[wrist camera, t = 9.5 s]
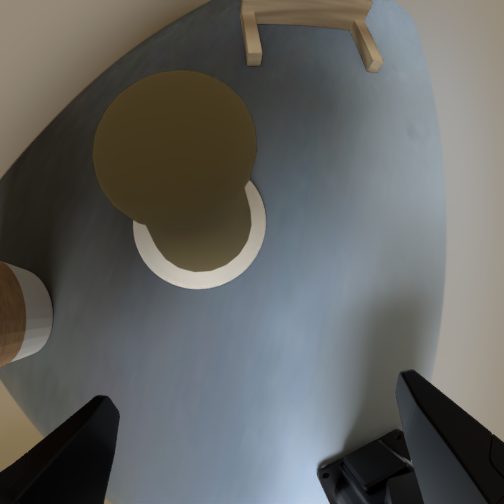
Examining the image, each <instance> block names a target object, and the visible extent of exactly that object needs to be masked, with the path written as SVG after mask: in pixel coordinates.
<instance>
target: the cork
mask: <svg viewBox="0 0 504 504" xmlns="http://www.w3.org/2000/svg"><path fill="white" fill-rule="evenodd" d="M256 153H257V140H256V130H255V125H254V122H253V119H252V117H251V115H250V113H249V111H248V109H247V107H246V105H245V103H244V101H243V99H242V98H241V97H239V96H238V95H237V94H236V93H235V92H234V91H233V90H232V89H231V88H230V87H229V86H227V85H226V84H225V83H223V82H222V81H220V80H218V79H215V78H213V77H211V76H209V75H206V74H204V73H201V72H194V71H187V70H175V71H166V72H159V73H157V74H154V75H151V76H148V77H146V78H143V79H141V80H138V81H137V82H135V83H134V84H132V85H131V86H129V87H128V88H126V89H125V90H124V91H122V92H121V93H120V94H119V95H118V96H117V97H116V98H115V99H114V101H113V102H112V103H111V104H110V105H109V106H108V107H107V109H106V111H105V113H104V115H103V117H102V119H101V121H100V123H99V125H98V127H97V130H96V133H95V138H94V145H93V153H92V158H93V163H94V168H95V173H96V177H97V180H98V183H99V186H100V187H101V189H102V190H103V192H104V193H105V195H106V196H107V198H108V199H109V201H110V202H111V204H112V205H113V206H114V207H116V208H117V209H118V210H119V211H121V212H122V213H124V214H125V215H127V216H128V217H130V218H131V219H133V220H134V221H136V222H137V223H139V224H143V225H146V227H147V229H148V231H149V233H150V235H151V238H152V240H153V242H154V244H155V246H156V247H157V249H158V250H159V251H160V253H161V254H162V255H163V257H164V258H165V259H166V260H167V261H169V262H171V263H172V264H174V265H175V266H177V267H178V268H181V269H184V270H188V271H192V272H205V271H213V270H215V269H218V268H220V267H223V266H225V265H227V264H228V263H229V262H231V261H232V260H233V259H234V258H235V257H237V256H238V255H239V254H240V252H241V251H242V249H243V248H244V246H245V244H246V243H247V241H248V238H249V234H250V230H251V226H252V224H251V211H250V206H249V203H248V199H247V195H246V191H245V186H246V185H247V183H248V182H249V180H250V176H251V173H252V169H253V165H254V162H255V158H256Z"/></svg>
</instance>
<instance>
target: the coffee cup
mask: <svg viewBox="0 0 504 504" xmlns="http://www.w3.org/2000/svg"><path fill="white" fill-rule="evenodd" d="M52 323H53V309H52V304H51V299H50V296H49V293H48V291H47V289H46V287H45V285H44V284H43V283H42V281H41V280H40V279H39V278H38V277H37V276H36V275H35V274H33V273H31V272H29V271H27V270H25V269H22V268H19V267H16V266H14V265H11V264H8V263H5V262H2V261H1V260H0V367H1V366H4V365H6V364H8V363H10V362H12V361H15V360H18V359H21V358H24V357H26V356H29V355H31V354H34V353H36V352H38V351H39V350H40V349H41V348H42V347H43V346H44V345H45V343H46V342H47V340H48V338H49V336H50V333H51V329H52Z"/></svg>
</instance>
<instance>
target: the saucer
mask: <svg viewBox="0 0 504 504" xmlns="http://www.w3.org/2000/svg"><path fill="white" fill-rule="evenodd" d="M245 191H246V195H247V199H248V203H249V206H250V211H251V224H252V226H251V230H250V234H249V238H248V241H247V243H246V244H245V246H244V248H243V249H242V251H241V252H240V254H239V255H238V256H237V257H235V258H234V259H233V260H232V261H231V262H229V263H228V264H227V265H225V266H223V267H220V268H218V269H215V270H213V271H205V272H192V271H188V270H184V269H181V268H178V267H177V266H175V265H174V264H172V263H171V262H169V261H167V260H166V259H165V258H164V257H163V255H162V254H161V253H160V251H159V250H158V249H157V247H156V246H155V244H154V242H153V240H152V238H151V235H150V233H149V231H148V229H147V227H146V225H143V224H139V223H137V222H136V221H134V220H133V232H134V239H135V243H136V246H137V249H138V251H139V253H140V255H141V257H142V259H143V261H144V262H145V263H146V265H147V266H148V267H149V268H150V269H151V270H152V271H153V272H154V273H155V274H156V275H158V276H159V277H160V278H162V279H163V280H165V281H167V282H169V283H171V284H174V285H176V286H179V287H183V288H188V289H208V288H213V287H217V286H220V285H223V284H225V283H227V282H229V281H231V280H233V279H234V278H236V277H238V276H239V275H240V274H241V273H242V272H244V271H245V270H246V269H247V268H248V267H249V265H250V264H251V263H252V262H253V260H254V259H255V257H256V256H257V254H258V252H259V250H260V248H261V245H262V242H263V240H264V235H265V229H266V215H265V209H264V205H263V202H262V199H261V196H260V195H259V193H258V191H257V189H256V188H255V186H254V185H253V183H252V182H251V181H250V180H249V182H248V183H247V185H246V186H245Z"/></svg>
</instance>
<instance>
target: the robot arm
mask: <svg viewBox="0 0 504 504" xmlns="http://www.w3.org/2000/svg"><path fill="white" fill-rule="evenodd" d="M396 399H397V403H398V408H399V413H400V417H401V422H402V427H403V431H401V430H399V429H396V430H394V431H392V432H390V433H389V434H387V435H385V436H383V437H382V438H380V439H378V440H375V441H373V442H372V443H370V444H368V445H366V446H364V447H362V448H360V449H359V450H357V451H355V452H353V453H351V454H349V455H347V456H345V457H344V458H342V459H340V460H338V461H336V462H334V463H332V464H330V465H327V466H325V467H323V468H321V469H320V470H319V471H318V472H317V477H318V479H319V481H320V483H321V485H322V488H323V490H324V492H325V494H326V496H327V499H328V501H329V503H330V504H504V442H503V441H501V440H500V439H499V438H498V437H497V436H495V435H494V434H492V433H491V432H490V431H489V430H488V429H486V428H485V427H484V426H483V425H482V424H480V423H479V422H478V421H477V420H475V419H474V418H473V417H472V416H471V415H469V414H468V413H467V412H466V411H464V410H463V409H462V408H461V407H459V406H458V405H457V404H456V403H454V402H453V401H452V400H451V399H449V398H448V397H447V396H446V395H444V394H443V393H442V392H441V391H440V390H438V389H437V388H436V387H434V386H433V385H432V384H431V383H430V382H428V381H427V380H426V379H425V378H423V377H422V376H421V375H420V374H418V373H417V372H416V371H415V370H412V369H410V370H406V371H402V372H400V373H399V375H398V381H397V386H396ZM119 419H120V414H119V411H118V409H117V408H116V406H115V405H114V404H113V402H112V401H111V399H110V398H109V397H108V396H104V395H97V396H95V397H94V398H93V399H92V400H90V401H89V402H88V403H87V404H85V405H84V406H83V407H82V408H81V409H79V410H78V411H77V412H76V413H75V414H73V415H72V416H71V417H70V418H69V419H67V420H66V421H65V422H64V423H62V424H61V425H60V426H59V427H58V428H56V429H55V430H54V431H53V432H51V433H50V434H49V435H48V436H47V437H45V438H44V439H43V440H42V441H40V442H39V443H38V444H37V445H36V446H34V447H33V448H32V449H31V450H29V451H28V453H26V454H24V456H22V457H21V458H20V459H18V460H17V461H16V462H14V463H13V464H12V465H10V466H9V467H7V468H6V469H4V470H3V471H1V472H0V504H104V500H105V495H106V491H107V486H108V481H109V477H110V472H111V468H112V464H113V459H114V455H115V448H116V440H117V433H118V426H119ZM398 434H399V435H398ZM396 435H398V437H397V438H395V437H396ZM410 457H411V458H410ZM411 460H412V462H411ZM324 473H327V475H325V476H322V475H323V474H324Z"/></svg>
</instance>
